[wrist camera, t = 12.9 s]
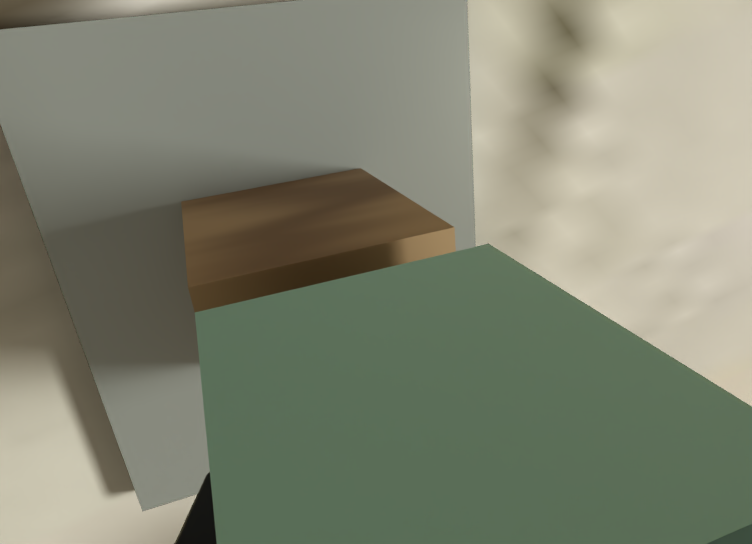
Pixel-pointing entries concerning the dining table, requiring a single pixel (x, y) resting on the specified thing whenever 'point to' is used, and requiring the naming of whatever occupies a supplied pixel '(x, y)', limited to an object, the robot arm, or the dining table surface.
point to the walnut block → (302, 236)
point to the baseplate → (214, 167)
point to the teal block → (461, 417)
